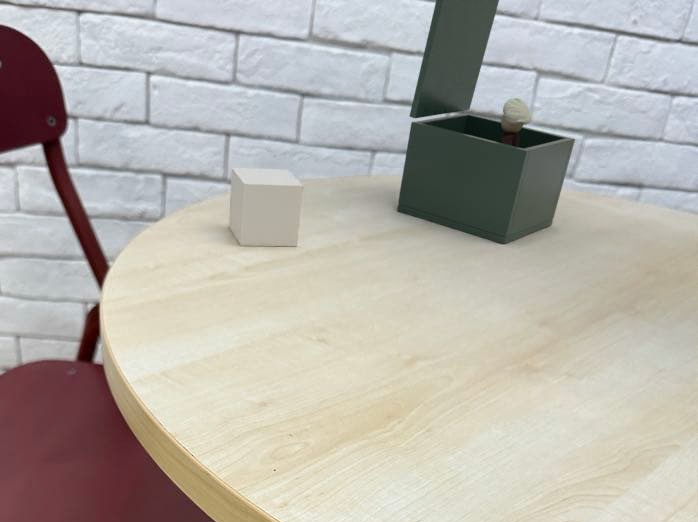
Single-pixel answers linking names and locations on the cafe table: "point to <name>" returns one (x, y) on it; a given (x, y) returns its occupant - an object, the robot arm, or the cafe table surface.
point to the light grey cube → (265, 207)
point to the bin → (483, 176)
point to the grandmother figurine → (514, 120)
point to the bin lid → (453, 56)
